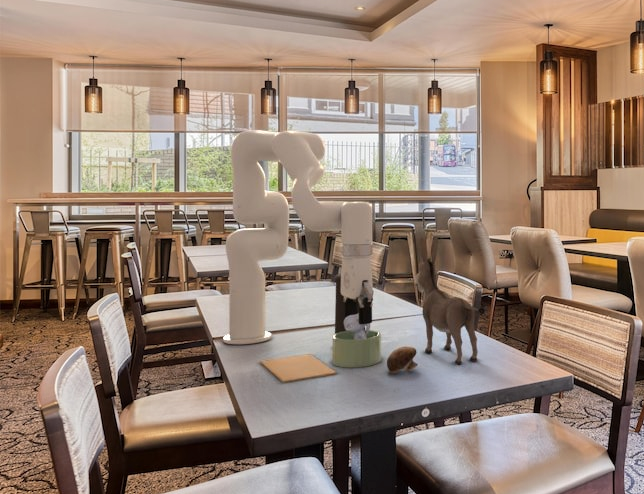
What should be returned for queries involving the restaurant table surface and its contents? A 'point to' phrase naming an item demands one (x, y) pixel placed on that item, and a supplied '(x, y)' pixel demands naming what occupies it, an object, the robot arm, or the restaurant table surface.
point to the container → (341, 306)
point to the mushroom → (401, 359)
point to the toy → (444, 307)
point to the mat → (297, 368)
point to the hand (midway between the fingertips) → (357, 320)
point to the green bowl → (356, 349)
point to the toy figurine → (356, 326)
